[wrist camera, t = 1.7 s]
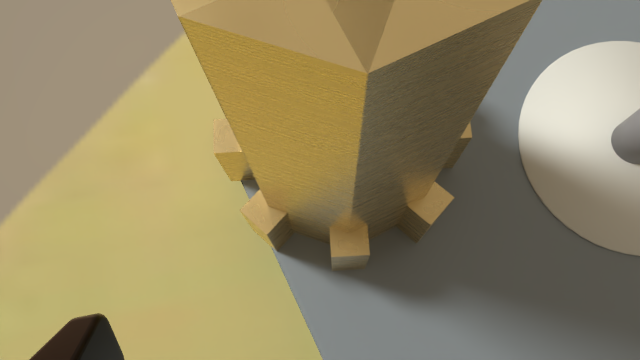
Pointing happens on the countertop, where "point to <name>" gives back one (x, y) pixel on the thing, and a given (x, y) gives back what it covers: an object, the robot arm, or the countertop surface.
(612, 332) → the gear board
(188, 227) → the countertop surface
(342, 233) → the gear
